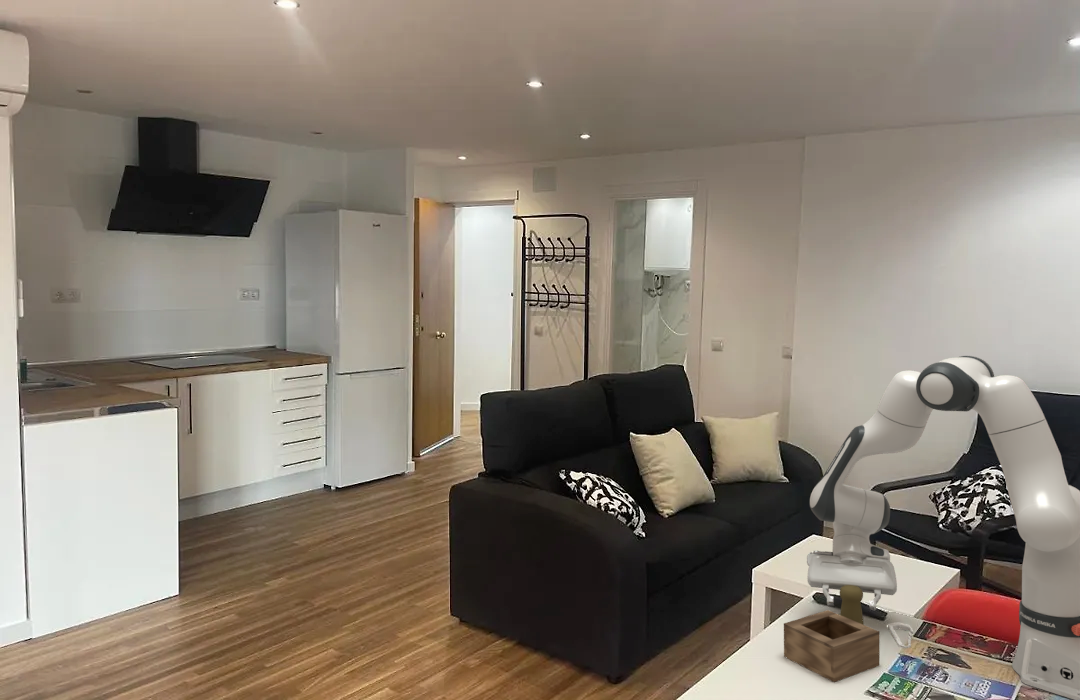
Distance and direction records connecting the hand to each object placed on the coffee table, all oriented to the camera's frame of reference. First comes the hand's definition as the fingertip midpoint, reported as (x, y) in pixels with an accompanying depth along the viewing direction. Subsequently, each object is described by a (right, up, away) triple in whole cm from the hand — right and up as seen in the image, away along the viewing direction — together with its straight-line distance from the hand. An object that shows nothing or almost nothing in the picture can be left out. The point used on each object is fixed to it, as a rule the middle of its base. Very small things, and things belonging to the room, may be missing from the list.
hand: (851, 606), depth 189 cm
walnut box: (-10, -7, -14) cm, 19 cm away
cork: (0, -6, +1) cm, 6 cm away
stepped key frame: (+11, -7, -3) cm, 13 cm away
